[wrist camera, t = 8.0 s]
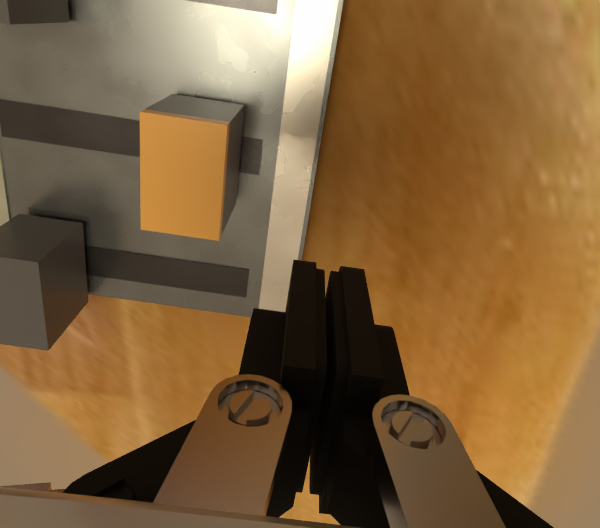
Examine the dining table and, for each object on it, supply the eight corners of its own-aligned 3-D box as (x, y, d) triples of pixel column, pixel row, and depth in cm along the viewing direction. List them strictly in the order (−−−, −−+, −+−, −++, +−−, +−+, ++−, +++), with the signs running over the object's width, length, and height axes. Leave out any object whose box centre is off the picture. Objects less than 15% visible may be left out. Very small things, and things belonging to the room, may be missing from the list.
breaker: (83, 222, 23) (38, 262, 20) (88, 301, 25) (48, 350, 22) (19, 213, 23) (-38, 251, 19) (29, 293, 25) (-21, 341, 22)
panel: (351, -55, 19) (353, -60, 18) (293, 307, 27) (291, 323, 26) (-60, -122, 19) (-91, -133, 17) (1, 265, 27) (-17, 279, 25)
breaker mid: (244, 104, 20) (227, 125, 17) (236, 203, 22) (218, 240, 19) (172, 93, 20) (139, 111, 17) (170, 193, 22) (140, 229, 19)
